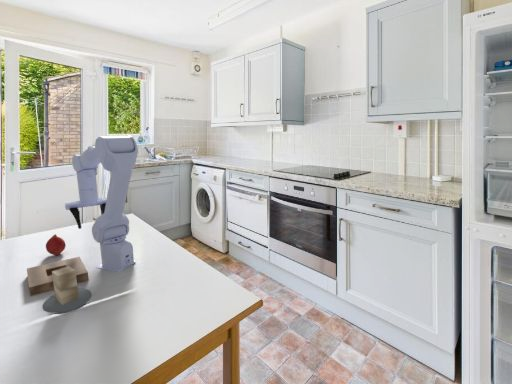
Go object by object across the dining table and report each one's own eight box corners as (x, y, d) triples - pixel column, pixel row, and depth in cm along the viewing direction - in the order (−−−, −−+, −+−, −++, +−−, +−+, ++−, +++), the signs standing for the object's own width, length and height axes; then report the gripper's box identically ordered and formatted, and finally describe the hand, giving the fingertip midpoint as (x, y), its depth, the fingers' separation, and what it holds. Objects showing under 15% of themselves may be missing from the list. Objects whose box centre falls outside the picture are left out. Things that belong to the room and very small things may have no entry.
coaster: (101, 294, 82) (101, 292, 82) (65, 317, 72) (65, 315, 72) (70, 287, 85) (70, 285, 85) (32, 309, 75) (31, 307, 75)
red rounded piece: (44, 259, 103) (41, 238, 101) (50, 253, 108) (47, 232, 107) (63, 258, 104) (60, 236, 103) (68, 251, 110) (66, 231, 108)
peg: (72, 293, 81) (68, 266, 80) (78, 298, 79) (75, 270, 77) (55, 299, 78) (51, 271, 77) (62, 305, 76) (58, 276, 74)
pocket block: (80, 264, 99) (79, 256, 99) (89, 281, 89) (87, 272, 88) (28, 277, 91) (26, 268, 90) (30, 297, 80) (28, 287, 79)
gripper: (107, 184, 111) (110, 219, 114) (61, 189, 102) (66, 226, 105) (112, 187, 106) (115, 224, 109) (64, 192, 97) (69, 232, 100)
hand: (92, 225), depth 107 cm, fingers open, 7 cm apart
